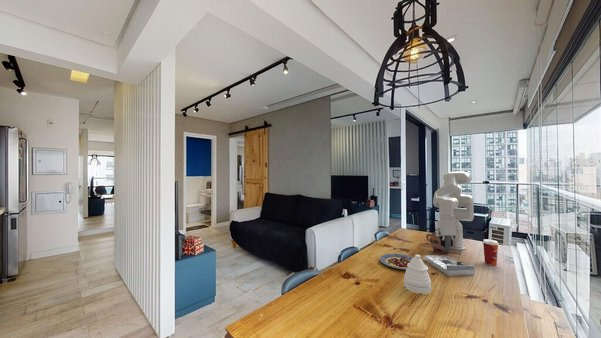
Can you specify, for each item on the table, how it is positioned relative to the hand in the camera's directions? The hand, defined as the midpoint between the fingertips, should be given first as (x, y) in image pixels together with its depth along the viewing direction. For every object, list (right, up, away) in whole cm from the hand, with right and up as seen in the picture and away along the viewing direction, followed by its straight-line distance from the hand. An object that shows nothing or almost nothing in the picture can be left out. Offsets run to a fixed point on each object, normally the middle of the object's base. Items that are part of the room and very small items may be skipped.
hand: (446, 245), depth 146 cm
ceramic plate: (-27, -14, +6) cm, 31 cm away
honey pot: (-32, -14, -25) cm, 43 cm away
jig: (0, -14, 0) cm, 14 cm away
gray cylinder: (0, -3, 0) cm, 3 cm away
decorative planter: (+11, -14, +27) cm, 33 cm away
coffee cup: (+32, -13, +5) cm, 35 cm away
